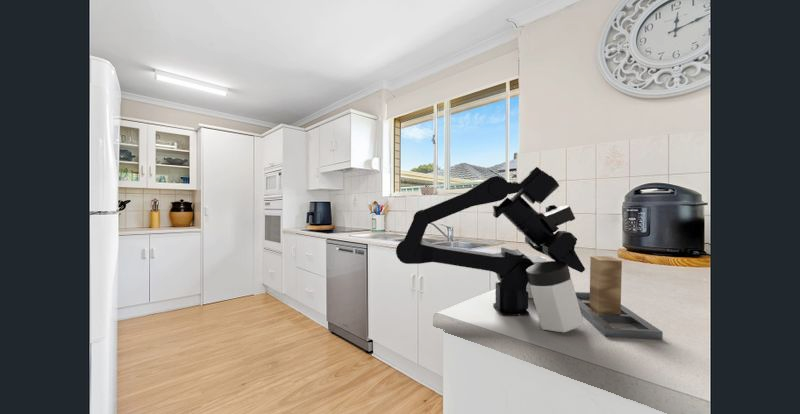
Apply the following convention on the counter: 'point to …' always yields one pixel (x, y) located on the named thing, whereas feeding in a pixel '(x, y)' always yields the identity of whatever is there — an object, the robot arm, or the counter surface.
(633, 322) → the rail plate
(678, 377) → the counter surface
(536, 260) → the white cup
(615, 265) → the oak block
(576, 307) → the jar
